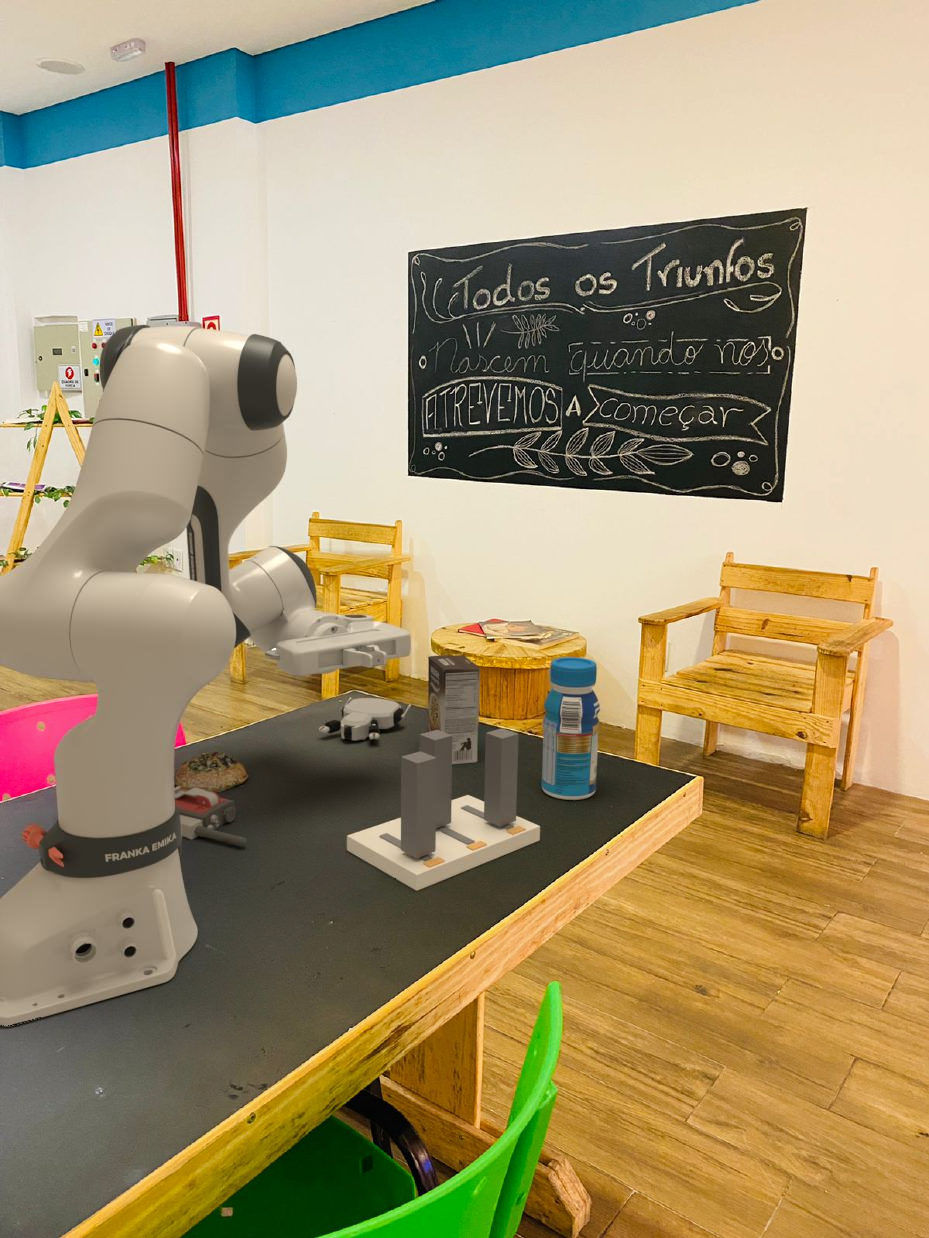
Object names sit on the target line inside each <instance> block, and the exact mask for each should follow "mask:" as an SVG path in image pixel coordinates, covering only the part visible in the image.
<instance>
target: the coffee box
mask: <svg viewBox="0 0 929 1238" xmlns="http://www.w3.org/2000/svg"><path fill="white" fill-rule="evenodd" d="M427 659H428V664H427V665H428V666H427V667H428V669H427V670H428V681H427V682H428V683H427V685H428V689H427V691H428V692H427V693H428V696H427V698H428V700H427V701H428V702H427V703H428V704H427V705H428V707H427V709H428V712H427V714H428V715H427V717H428V718H427V722H428V725H427V727H428V728H427V732H430V731H434V730H439V731H442V732H445V733H447V734H450V735H452V765H460V764H462V765H463V764H471V763H473V764H474V763H478V754H479V753H478V751H479V747H478V746H479V723H480V721H479V717H480V686H481V685H480V684H481V667H480V666H478V665H477V664H476V663H474V662H473V661H472V660H471V659H469V658H468V657H467V656H465V655H464V654H457V655H455V654H454V655H452V654H451V655H450V654H449V655H448V654H447V655H446V654H444V655H430V656H429V655H428V657H427Z"/></svg>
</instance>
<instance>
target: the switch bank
mask: <svg viewBox="0 0 929 1238" xmlns="http://www.w3.org/2000/svg"><path fill="white" fill-rule="evenodd" d="M540 837H541V825H538V824H536V823H534V822H531V821H529V820H527V819H525V818H522V817H520V816H518V815H516V821H514V822H511V823H509V824H506V825H503V826H501V827H499V826H497V825H495V824H492V823H490V822H488V821H486V820H484V801H483V800H481V799H479V798H476V797H474V796H471V795H469V794H466V795H463V796H461V797H457V798H455V799H452V803H451V823H450V824H447V825H444V826H441V827H438V828H436V849H435V852H432V853H430V854H427V855H425V856H422V857H419V858H417V859H416V858H414V857H413V856H411V855H409V854H407V853H405V852H403V851H402V850H401V817H398V818H396V819H392V820H389V821H386V822H383V823H381V824H378V825H375V826H372V827H369V828H365V829H362V830H360V831H356V832H353V833H351V834H348V835H346V851H348V852H349V853H351V854H353V855H354V856H356V857H358V858H359V859H361V860H362V861H364V862H367V863H368V864H369V865H371V866H373V867H375V868H377V869H379V870H380V871H382V872H383V873H385V874H387V875H389V876H390V877H392V878H393V879H395V878H396V879H395V880H397V881H399V882H401V883H402V884H404V885H406V886H408V887H409V888H411V889H413V890H415V891H420V890H422V889H425V888H427V887H430V886H432V885H434V884H437V883H439V882H442V881H444V880H447V879H449V878H451V877H453V876H456V875H458V874H461V873H464V872H466V871H468V870H471V869H474V868H476V867H478V866H480V865H483V864H486V863H488V862H491V861H493V860H495V859H498V858H500V857H502V856H504V855H507V854H510V853H512V852H514V851H517V850H520V849H522V848H525V847H526V846H529V845H532V844H534V843H536V842H539V841H540Z"/></svg>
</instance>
